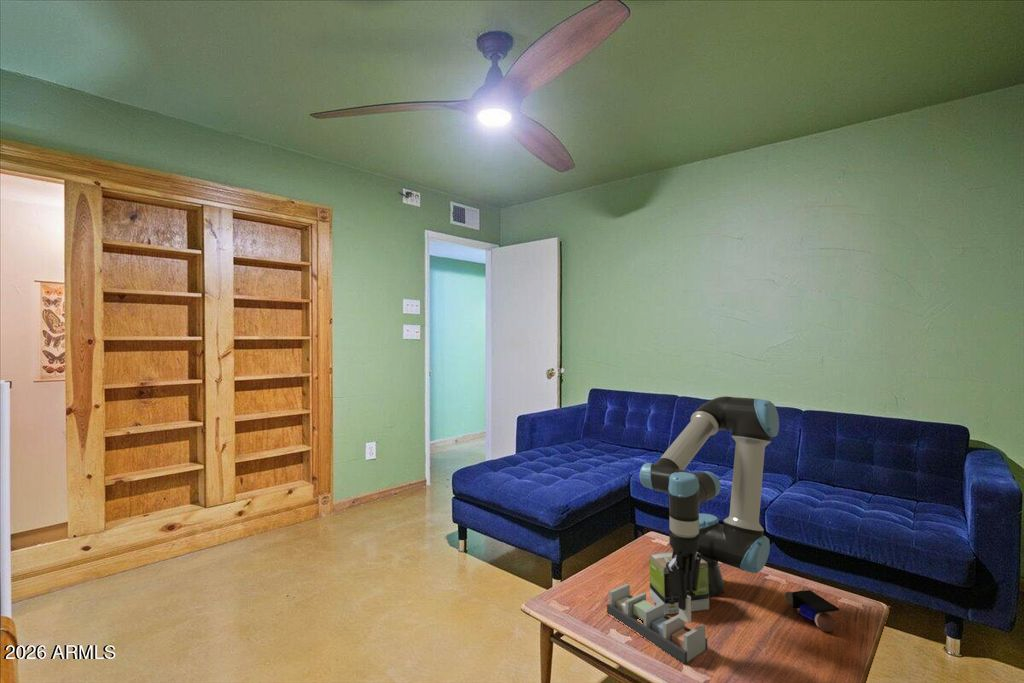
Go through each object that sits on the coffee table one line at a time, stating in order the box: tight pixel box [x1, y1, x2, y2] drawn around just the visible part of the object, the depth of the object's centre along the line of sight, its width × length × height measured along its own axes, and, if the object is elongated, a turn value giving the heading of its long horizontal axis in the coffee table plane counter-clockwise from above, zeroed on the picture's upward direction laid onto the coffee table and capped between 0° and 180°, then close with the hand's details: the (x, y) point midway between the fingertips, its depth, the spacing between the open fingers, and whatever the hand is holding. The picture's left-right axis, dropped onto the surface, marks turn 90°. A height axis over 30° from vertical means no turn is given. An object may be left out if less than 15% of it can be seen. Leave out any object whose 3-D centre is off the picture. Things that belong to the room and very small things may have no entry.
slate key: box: [652, 617, 667, 636], centre depth 132 cm, size 5×5×3 cm
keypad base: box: [606, 583, 708, 665], centre depth 135 cm, size 10×27×7 cm, turn 35°
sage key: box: [633, 600, 655, 620], centre depth 137 cm, size 5×5×3 cm
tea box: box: [649, 551, 710, 615], centre depth 148 cm, size 15×10×15 cm, turn 100°
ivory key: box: [616, 597, 630, 613], centre depth 143 cm, size 5×5×3 cm
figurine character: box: [784, 589, 840, 633], centre depth 140 cm, size 7×8×15 cm
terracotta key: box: [672, 629, 687, 649], centre depth 126 cm, size 5×5×3 cm
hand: (685, 619), depth 127 cm, fingers closed
